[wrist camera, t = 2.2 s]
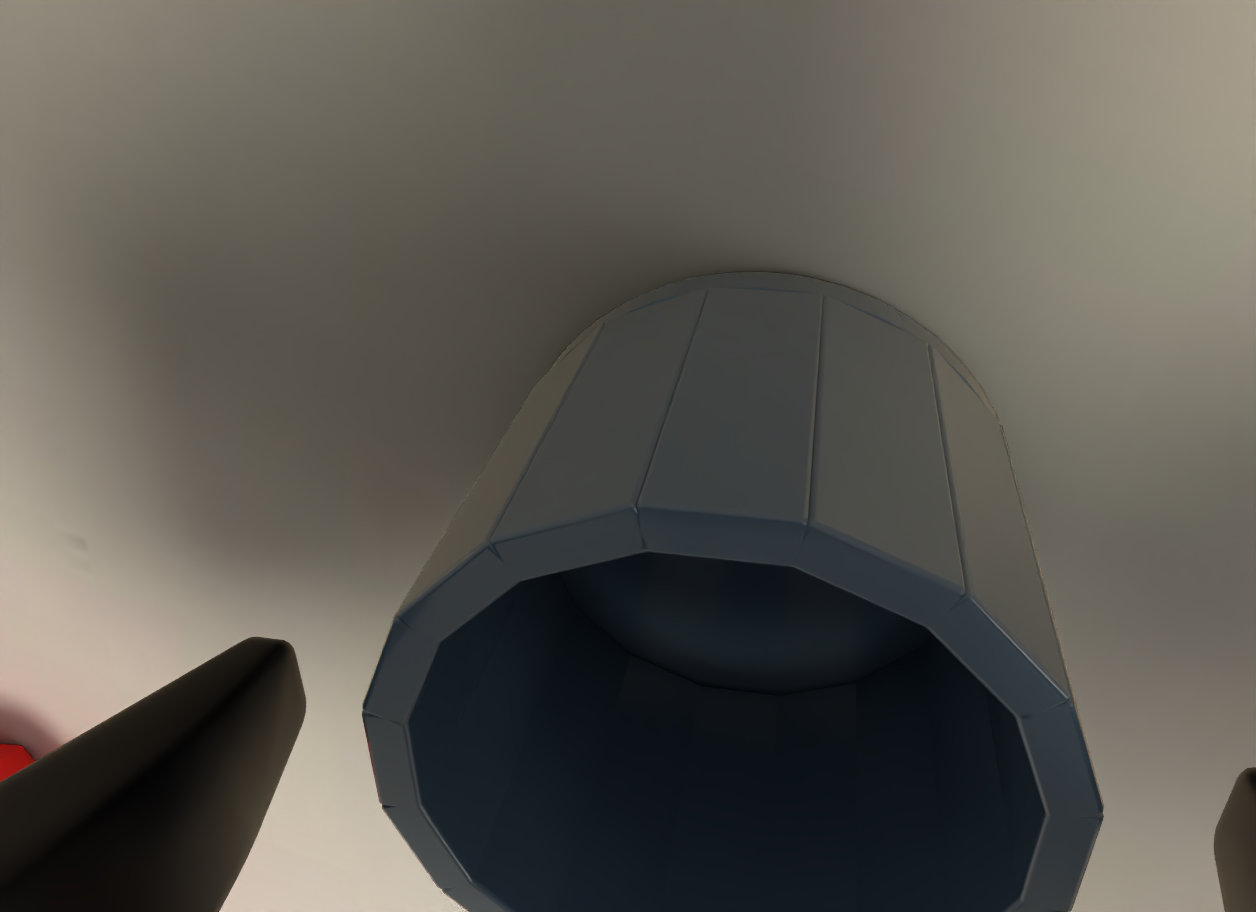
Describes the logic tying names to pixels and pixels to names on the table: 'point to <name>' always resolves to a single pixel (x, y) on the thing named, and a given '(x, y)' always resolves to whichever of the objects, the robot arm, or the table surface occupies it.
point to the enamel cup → (739, 632)
